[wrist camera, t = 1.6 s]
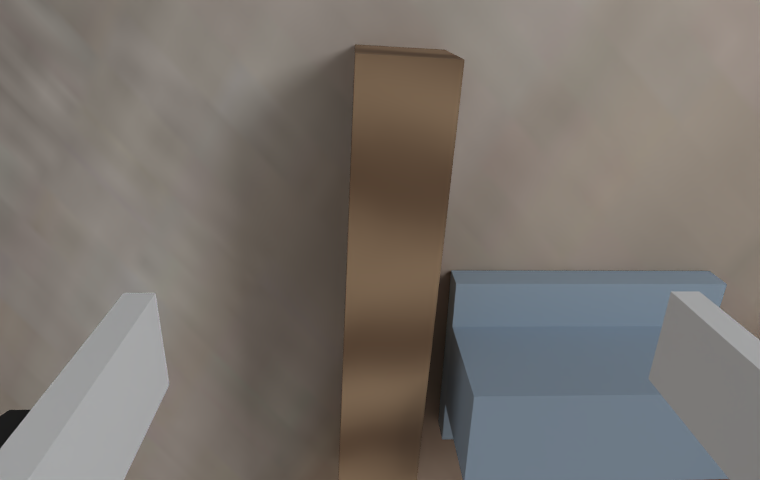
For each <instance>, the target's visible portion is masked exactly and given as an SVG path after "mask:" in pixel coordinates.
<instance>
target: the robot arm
mask: <svg viewBox="0 0 760 480" xmlns="http://www.w3.org/2000/svg"><path fill="white" fill-rule="evenodd" d="M648 379H649V380H650V382H651V383H652V384H653V385H654V386H655V388H656V389H657V390H658V391H659V393H660V394H661V395H662V396H663V398H664V399H665V400H666V401H667V403H668V404H669V405H670V406H671V408H672V409H673V410H674V411H675V413H676V414H677V415H678V416H679V417H680V419H681V420H682V421H683V422H684V424H685V425H686V426H687V427H688V429H689V430H690V431H691V432H692V434H693V435H694V436H695V437H696V439H697V440H698V441H699V442H700V444H701V445H702V446H703V447H704V448H705V450H706V451H707V452H708V453H709V455H710V456H711V457H712V458H713V460H714V461H715V462H716V463H717V465H718V466H719V467H720V468H721V470H722V471H723V472H724V473H725V475H726V476H727V477H728V478H729V480H760V340H759V339H758V338H756V337H755V336H754V335H753V334H751V333H750V332H749V331H748V330H746V329H745V328H744V327H743V326H741V325H740V324H739V323H738V322H737V321H735V320H734V319H733V318H732V317H730V316H729V315H728V314H727V313H725V312H724V311H723V310H722V309H720V308H719V307H718V306H717V305H716V304H714V303H713V302H712V301H711V300H709V299H708V298H707V297H706V296H704V295H703V294H702V293H701V292H699V291H671V293H670V297H669V301H668V305H667V309H666V313H665V316H664V320H663V324H662V328H661V332H660V336H659V340H658V343H657V347H656V351H655V355H654V359H653V363H652V367H651V370H650V374H649V378H648ZM168 386H169V379H168V372H167V365H166V359H165V352H164V345H163V339H162V332H161V326H160V319H159V312H158V306H157V299H156V293H123V294H122V296H121V297H120V298H119V299H118V301H117V302H116V303H115V305H114V306H113V307H112V308H111V310H110V311H109V312H108V313H107V315H106V316H105V317H104V318H103V320H102V321H101V322H100V323H99V325H98V326H97V327H96V328H95V330H94V331H93V332H92V334H91V335H90V336H89V337H88V339H87V340H86V341H85V342H84V344H83V345H82V346H81V347H80V349H79V350H78V351H77V352H76V354H75V355H74V356H73V357H72V359H71V360H70V361H69V363H68V364H67V365H66V366H65V368H64V369H63V370H62V371H61V373H60V374H59V375H58V376H57V378H56V379H55V380H54V381H53V383H52V384H51V385H50V386H49V388H48V389H47V390H46V392H45V393H44V394H43V395H42V397H41V398H40V399H39V400H38V402H37V403H36V404H35V405H34V407H33V408H32V409H31V410H9V411H7V412H6V413H4V414H3V415H1V416H0V480H124V478H125V476H126V474H127V472H128V470H129V468H130V466H131V464H132V462H133V459H134V457H135V455H136V453H137V451H138V449H139V447H140V445H141V443H142V441H143V439H144V436H145V434H146V432H147V430H148V428H149V426H150V424H151V422H152V420H153V418H154V416H155V413H156V411H157V409H158V407H159V405H160V403H161V401H162V399H163V397H164V395H165V393H166V390H167V388H168Z"/></svg>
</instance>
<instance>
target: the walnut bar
mask: <svg viewBox="0 0 760 480" xmlns="http://www.w3.org/2000/svg"><path fill="white" fill-rule="evenodd" d="M463 68H464V59H462V58H460V57H458V56H456V55H454V54H452V53H450V52H448V51H446V50H438V49H421V48H404V47H387V46H370V45H355V63H354V89H353V115H352V140H351V166H350V192H349V218H348V243H347V269H346V295H345V321H344V346H343V372H342V398H341V424H340V449H339V477H338V480H417V473H418V464H419V455H420V447H421V438H422V429H423V420H424V411H425V403H426V394H427V385H428V376H429V367H430V359H431V350H432V341H433V332H434V323H435V315H436V306H437V297H438V288H439V279H440V271H441V262H442V253H443V244H444V236H445V227H446V218H447V209H448V200H449V192H450V183H451V174H452V165H453V156H454V148H455V139H456V130H457V121H458V112H459V104H460V95H461V86H462V77H463Z"/></svg>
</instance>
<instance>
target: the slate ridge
mask: <svg viewBox="0 0 760 480" xmlns="http://www.w3.org/2000/svg"><path fill="white" fill-rule="evenodd" d="M726 285H727V284H726V283H725V282H723V281H722V280H721V279H719V278H718V277H717V276H715V275H714V274H713V273H711V272H710V271H451V280H450V291H449V303H448V315H447V326H446V338H445V350H444V361H443V373H442V385H441V396H440V408H439V420H438V422H439V427H440V431H441V436H442V439H454V443H455V448H456V452H457V456H458V460H459V465H460V469H461V473H462V478H463V480H708V479H729V478H728V477H727V476H726V475H725V473H724V472H723V471H722V470H721V468H720V467H719V466H718V465H717V463H716V462H715V461H714V460H713V458H712V457H711V456H710V455H709V453H708V452H707V451H706V450H705V448H704V447H703V446H702V445H701V444H700V442H699V441H698V440H697V439H696V437H695V436H694V435H693V434H692V432H691V431H690V430H689V429H688V427H687V426H686V425H685V424H684V422H683V421H682V420H681V419H680V417H679V416H678V415H677V414H676V413H675V411H674V410H673V409H672V408H671V406H670V405H669V404H668V403H667V401H666V400H665V399H664V398H663V396H662V395H661V394H660V393H659V391H658V390H657V389H656V388H655V386H654V385H653V384H652V383H651V382H650V380H649V379H648V378H649V374H650V370H651V367H652V363H653V359H654V355H655V351H656V347H657V343H658V340H659V336H660V332H661V328H662V324H663V320H664V316H665V313H666V309H667V305H668V301H669V297H670V293H671V291H699V292H701V293H702V294H703V295H704V296H706V297H707V298H708V299H709V300H711V301H712V302H713V303H714V304H716V305H717V306H718V307H719V308H720V305H721V302H722V298H723V295H724V292H725V289H726Z"/></svg>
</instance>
